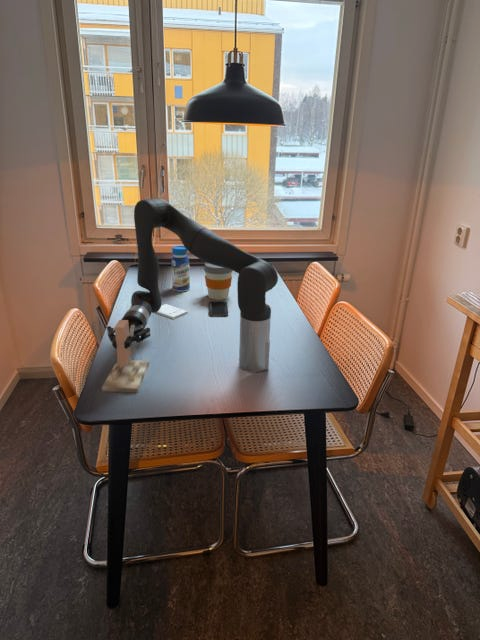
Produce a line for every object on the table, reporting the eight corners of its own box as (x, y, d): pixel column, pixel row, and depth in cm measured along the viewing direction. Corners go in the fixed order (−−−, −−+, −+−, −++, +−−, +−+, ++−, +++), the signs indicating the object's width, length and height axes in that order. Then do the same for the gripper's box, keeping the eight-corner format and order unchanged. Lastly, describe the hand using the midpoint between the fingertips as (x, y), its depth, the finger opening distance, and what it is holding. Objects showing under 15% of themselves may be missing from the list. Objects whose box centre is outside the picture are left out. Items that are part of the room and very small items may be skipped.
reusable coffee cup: (207, 302, 185) (207, 268, 179) (202, 292, 196) (201, 260, 190) (235, 299, 188) (236, 267, 182) (228, 290, 199) (228, 259, 193)
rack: (117, 363, 135) (116, 354, 133) (149, 364, 135) (148, 355, 133) (102, 391, 120) (100, 381, 119) (137, 392, 120) (136, 382, 119)
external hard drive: (166, 307, 180) (187, 314, 174) (152, 312, 174) (173, 320, 168) (166, 303, 180) (187, 310, 173) (151, 309, 174) (173, 316, 167)
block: (122, 356, 128) (119, 319, 123) (131, 356, 128) (128, 320, 123) (118, 364, 123) (114, 327, 118) (126, 365, 123) (123, 327, 118)
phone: (208, 315, 170) (209, 301, 184) (208, 317, 171) (209, 303, 184) (228, 314, 171) (227, 301, 184) (228, 317, 171) (227, 303, 185)
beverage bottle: (188, 285, 205) (187, 244, 197) (191, 291, 197) (190, 248, 189) (170, 286, 202) (168, 245, 194) (173, 292, 195) (172, 250, 187)
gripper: (112, 308, 134) (94, 332, 118) (156, 310, 134) (144, 334, 118) (114, 330, 137) (97, 356, 121) (157, 331, 137) (145, 358, 121)
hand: (120, 345), depth 120 cm, fingers closed on block, 2 cm apart
